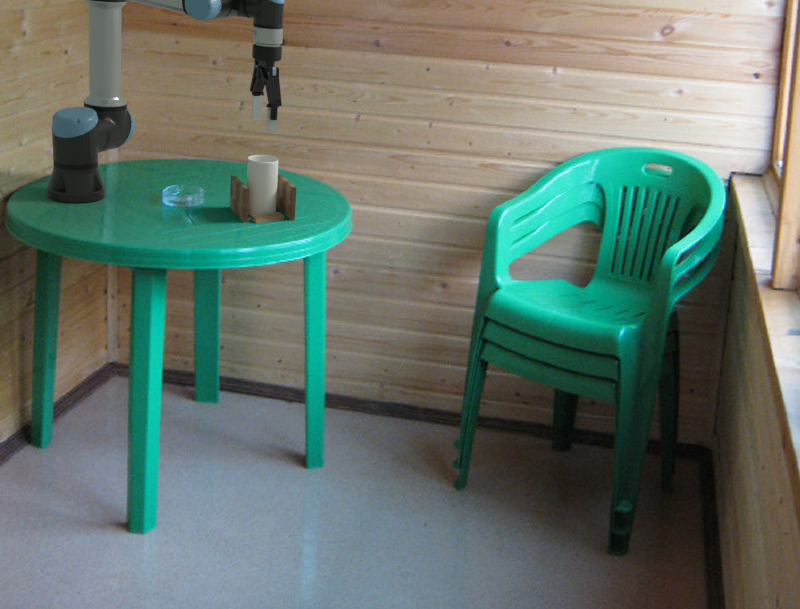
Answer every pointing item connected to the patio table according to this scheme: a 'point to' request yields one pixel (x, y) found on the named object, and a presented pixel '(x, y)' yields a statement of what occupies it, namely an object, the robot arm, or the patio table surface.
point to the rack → (241, 198)
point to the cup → (262, 184)
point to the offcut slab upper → (267, 217)
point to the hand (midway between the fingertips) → (264, 126)
